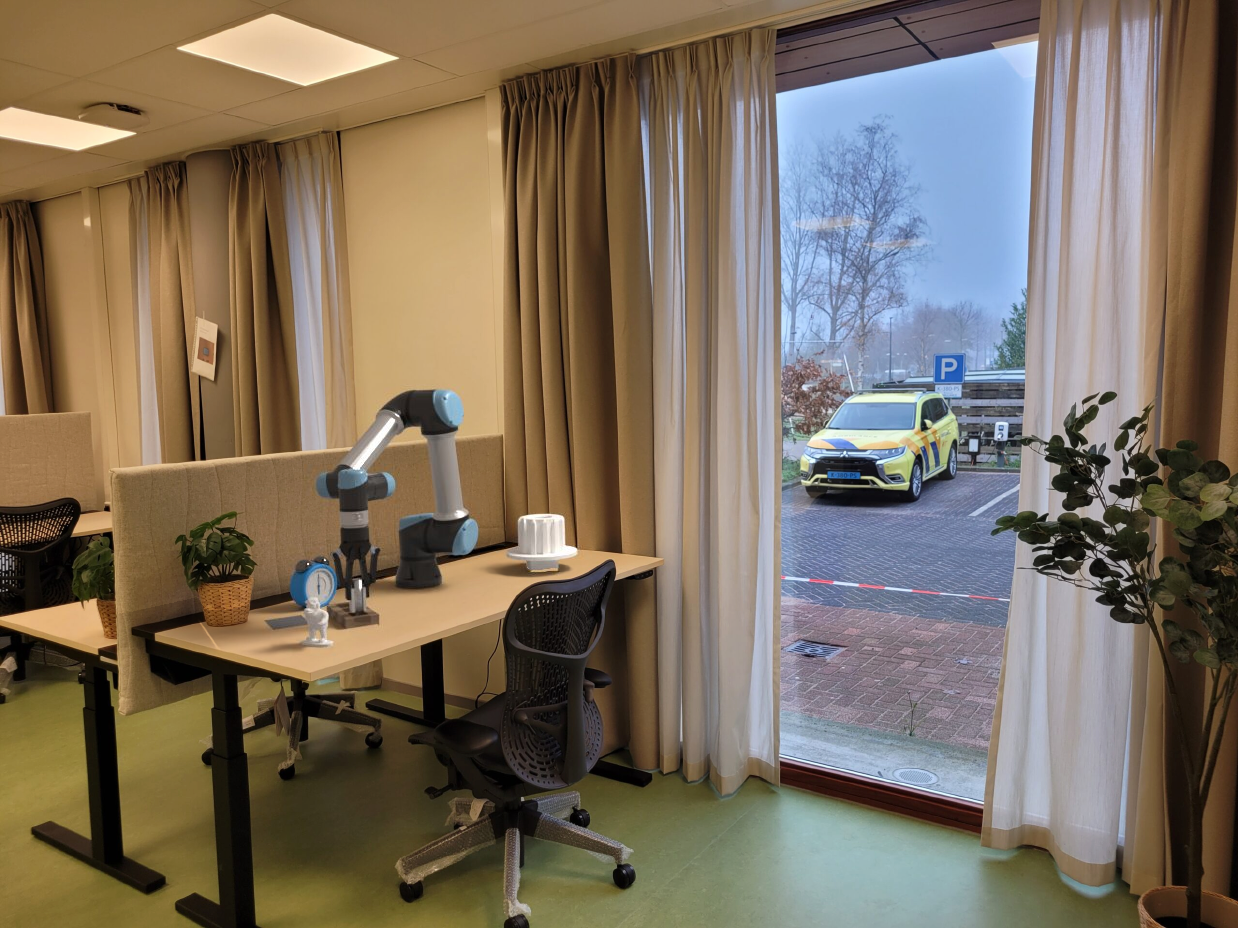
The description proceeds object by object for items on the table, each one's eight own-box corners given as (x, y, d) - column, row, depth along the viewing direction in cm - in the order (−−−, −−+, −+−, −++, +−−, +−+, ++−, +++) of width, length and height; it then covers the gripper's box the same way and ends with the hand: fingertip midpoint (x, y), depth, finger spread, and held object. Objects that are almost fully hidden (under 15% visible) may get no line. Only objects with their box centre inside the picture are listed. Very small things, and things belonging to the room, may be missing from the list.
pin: (351, 622, 250) (349, 579, 249) (362, 620, 251) (360, 577, 250) (354, 624, 247) (352, 580, 246) (365, 622, 249) (363, 579, 248)
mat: (264, 621, 254) (264, 620, 254) (301, 616, 260) (301, 614, 260) (273, 630, 244) (273, 629, 244) (311, 625, 249) (311, 623, 249)
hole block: (326, 615, 260) (326, 604, 260) (358, 610, 265) (357, 600, 265) (346, 630, 244) (345, 619, 243) (379, 624, 248) (378, 614, 248)
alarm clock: (304, 613, 263) (301, 562, 262) (289, 611, 266) (287, 560, 265) (338, 603, 274) (336, 554, 273) (324, 601, 278) (322, 553, 276)
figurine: (292, 646, 229) (290, 599, 228) (310, 639, 235) (308, 593, 234) (320, 649, 226) (318, 602, 225) (338, 642, 232) (336, 596, 231)
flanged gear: (511, 578, 306) (509, 523, 304) (503, 565, 330) (501, 513, 329) (583, 574, 312) (582, 519, 310) (570, 561, 336) (569, 510, 334)
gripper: (329, 530, 240) (333, 617, 242) (386, 524, 248) (390, 609, 250) (322, 526, 246) (325, 611, 248) (378, 521, 254) (381, 603, 256)
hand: (358, 610), depth 249 cm, fingers closed on pin, 2 cm apart
